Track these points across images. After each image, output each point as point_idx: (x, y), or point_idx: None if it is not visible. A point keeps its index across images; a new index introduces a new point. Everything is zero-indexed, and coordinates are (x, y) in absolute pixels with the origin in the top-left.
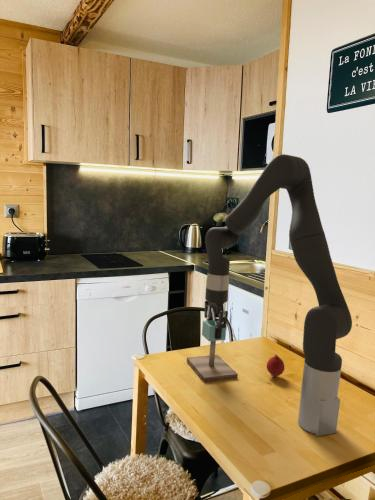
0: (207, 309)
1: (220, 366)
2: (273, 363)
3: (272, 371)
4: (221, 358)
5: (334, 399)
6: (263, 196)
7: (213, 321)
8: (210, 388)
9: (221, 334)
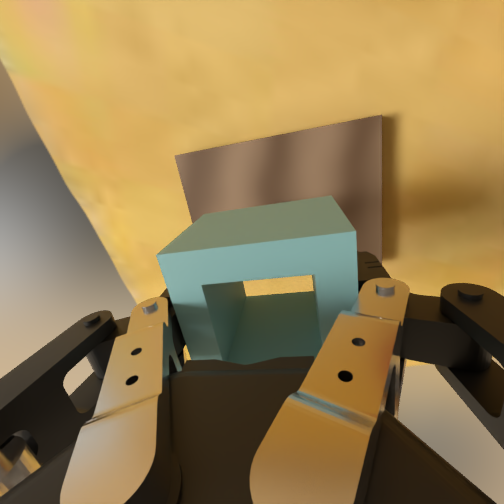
0: (63, 430)
1: (295, 176)
2: None
3: None
4: (213, 148)
5: None
6: None
7: (210, 318)
8: (428, 250)
9: (358, 252)
